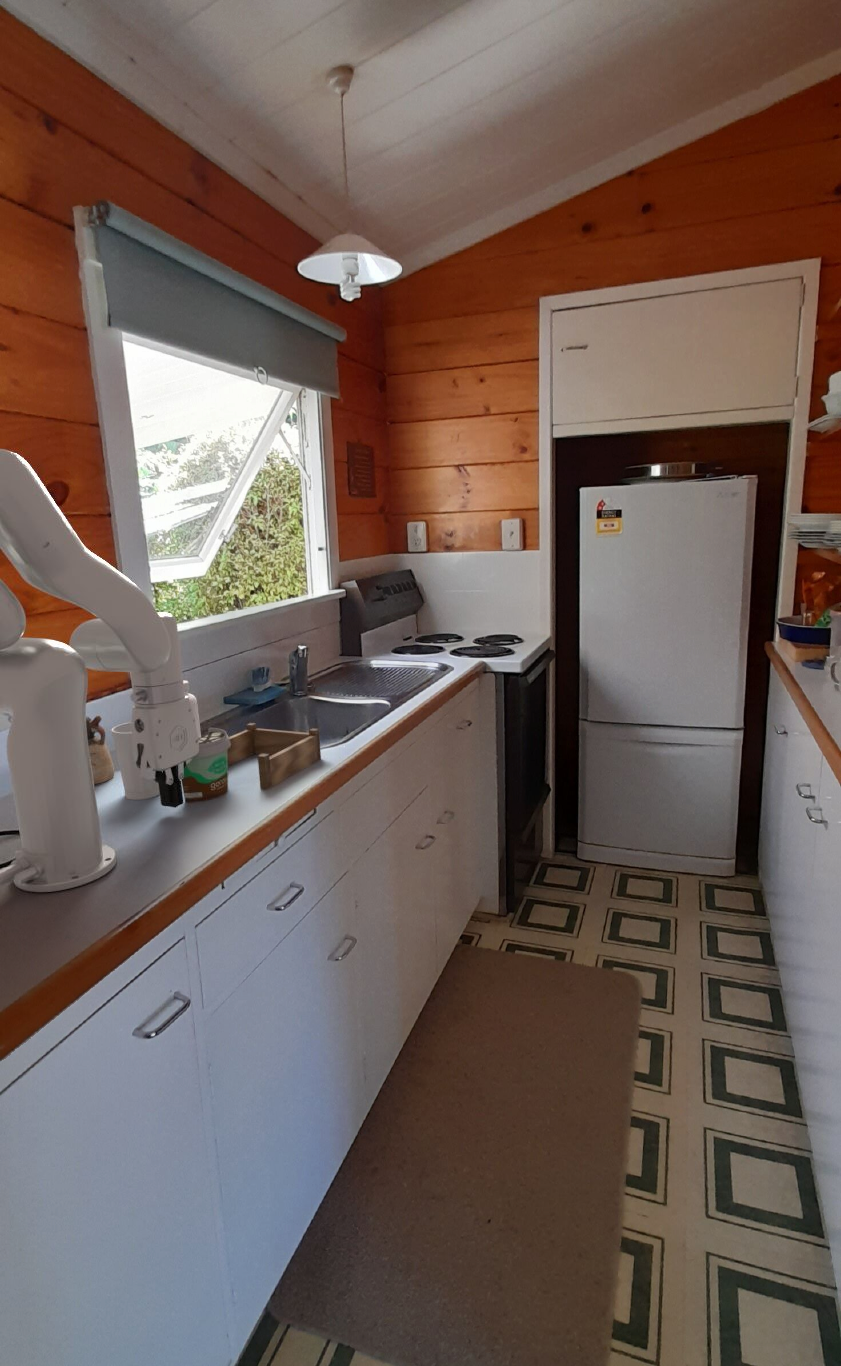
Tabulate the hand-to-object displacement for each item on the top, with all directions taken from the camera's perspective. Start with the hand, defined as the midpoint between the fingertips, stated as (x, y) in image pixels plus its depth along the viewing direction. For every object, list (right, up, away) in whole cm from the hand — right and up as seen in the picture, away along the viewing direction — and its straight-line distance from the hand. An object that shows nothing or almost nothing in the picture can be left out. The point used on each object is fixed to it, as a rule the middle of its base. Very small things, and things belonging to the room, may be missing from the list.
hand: (172, 804), depth 118 cm
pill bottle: (-9, +5, +32) cm, 34 cm away
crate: (+9, +3, +21) cm, 23 cm away
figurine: (-21, +1, +19) cm, 29 cm away
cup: (-8, 0, +11) cm, 14 cm away
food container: (+4, 0, +10) cm, 10 cm away
